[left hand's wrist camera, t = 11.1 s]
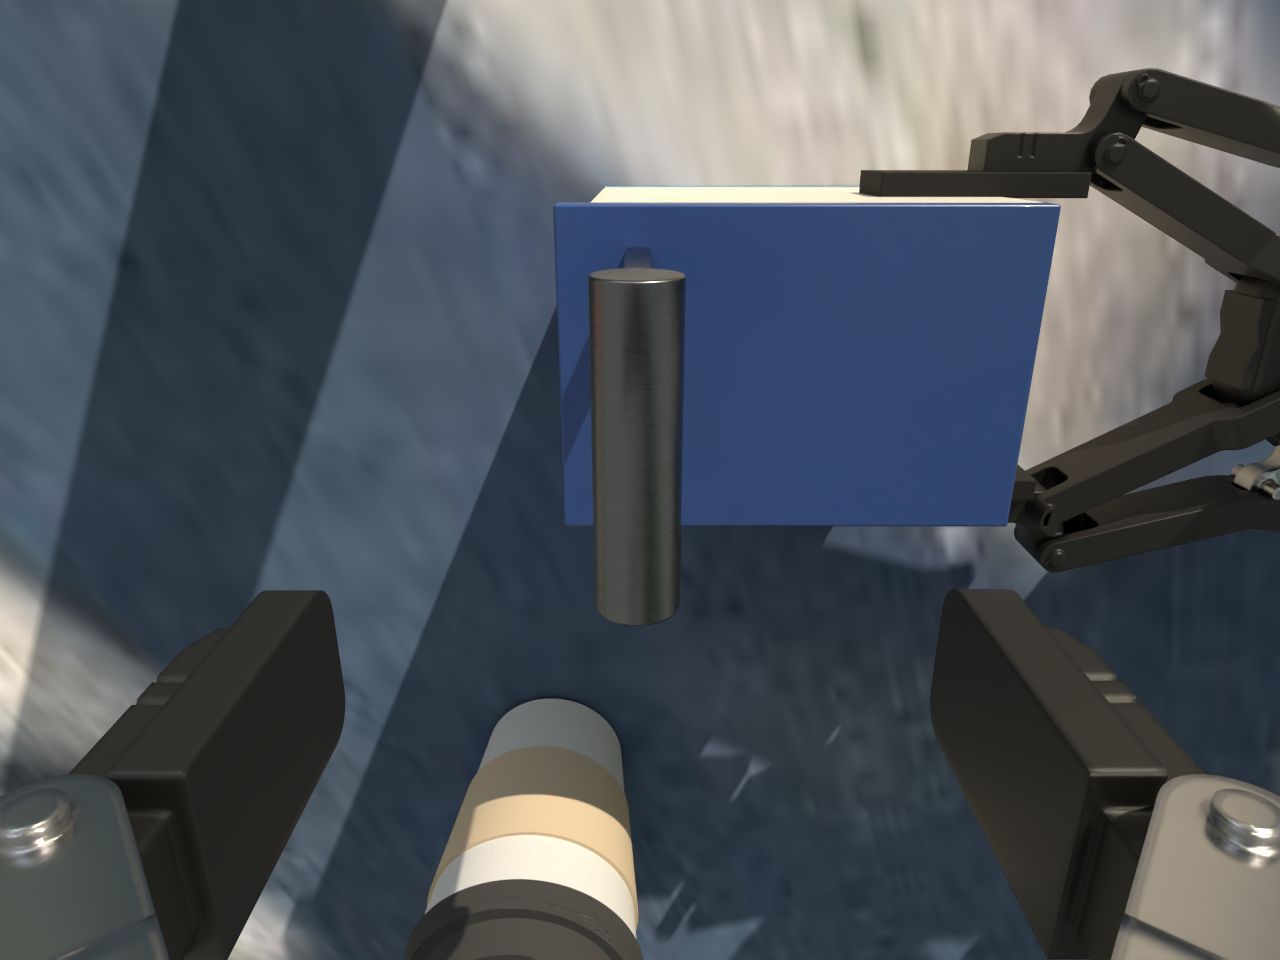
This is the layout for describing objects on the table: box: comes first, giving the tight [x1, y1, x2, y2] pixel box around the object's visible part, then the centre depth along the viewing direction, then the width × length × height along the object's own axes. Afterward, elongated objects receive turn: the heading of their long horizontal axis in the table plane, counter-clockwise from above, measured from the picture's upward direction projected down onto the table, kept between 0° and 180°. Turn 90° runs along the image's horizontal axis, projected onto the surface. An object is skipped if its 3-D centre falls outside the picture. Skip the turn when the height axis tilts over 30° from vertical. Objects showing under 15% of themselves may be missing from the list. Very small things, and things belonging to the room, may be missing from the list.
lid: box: [554, 202, 1061, 626], centre depth 22 cm, size 14×10×9 cm
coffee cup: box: [405, 698, 643, 960], centre depth 37 cm, size 9×9×15 cm
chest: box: [591, 186, 1043, 203], centre depth 31 cm, size 13×10×11 cm
